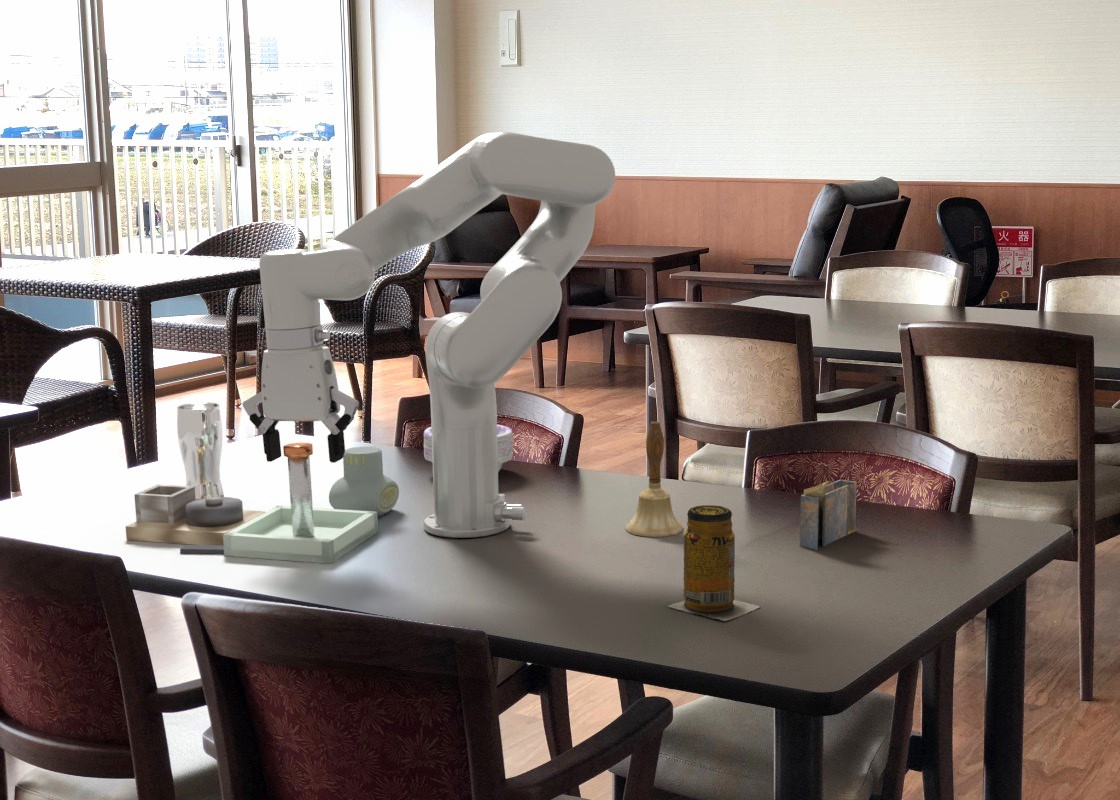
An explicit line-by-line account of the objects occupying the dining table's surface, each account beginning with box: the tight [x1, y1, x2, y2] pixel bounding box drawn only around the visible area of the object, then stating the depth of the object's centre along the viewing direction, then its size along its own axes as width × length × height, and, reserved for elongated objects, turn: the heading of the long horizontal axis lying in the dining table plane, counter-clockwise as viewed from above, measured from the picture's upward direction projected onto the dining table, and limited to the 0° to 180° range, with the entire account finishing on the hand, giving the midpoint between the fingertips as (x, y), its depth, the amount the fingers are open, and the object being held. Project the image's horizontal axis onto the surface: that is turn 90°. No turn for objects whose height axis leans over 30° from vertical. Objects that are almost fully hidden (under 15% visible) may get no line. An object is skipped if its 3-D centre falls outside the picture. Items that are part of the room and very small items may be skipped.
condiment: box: [667, 504, 761, 622], centre depth 161 cm, size 7×8×12 cm
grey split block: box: [799, 479, 857, 550], centre depth 189 cm, size 11×3×10 cm, turn 141°
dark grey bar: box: [179, 544, 224, 555], centre depth 188 cm, size 14×2×1 cm, turn 84°
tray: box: [223, 505, 379, 564], centre depth 191 cm, size 16×16×3 cm
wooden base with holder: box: [125, 484, 267, 545], centre depth 198 cm, size 16×12×6 cm
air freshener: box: [328, 446, 400, 518], centre depth 206 cm, size 11×8×10 cm
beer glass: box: [176, 401, 224, 500], centre depth 218 cm, size 7×7×15 cm
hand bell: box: [625, 420, 684, 538], centre depth 195 cm, size 8×8×16 cm
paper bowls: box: [423, 423, 514, 473], centre depth 231 cm, size 15×15×8 cm
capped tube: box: [282, 442, 314, 538], centre depth 190 cm, size 4×4×13 cm
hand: (305, 459), depth 190 cm, fingers open, 9 cm apart
